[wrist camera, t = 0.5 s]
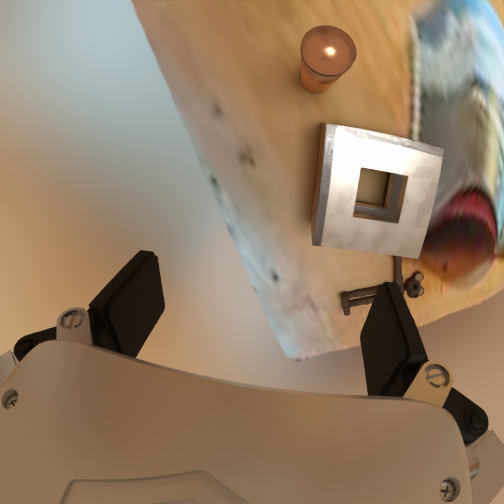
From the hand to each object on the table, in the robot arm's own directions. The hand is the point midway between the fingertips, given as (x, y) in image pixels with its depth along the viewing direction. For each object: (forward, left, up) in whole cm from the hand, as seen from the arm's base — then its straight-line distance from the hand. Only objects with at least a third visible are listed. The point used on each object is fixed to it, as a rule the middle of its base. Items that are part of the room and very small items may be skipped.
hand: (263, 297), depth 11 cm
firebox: (0, +11, -29) cm, 31 cm away
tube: (-13, +3, -29) cm, 31 cm away
